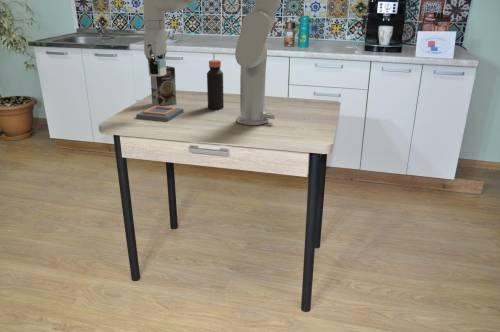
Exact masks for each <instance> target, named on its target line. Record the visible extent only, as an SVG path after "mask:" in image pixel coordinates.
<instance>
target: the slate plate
mask: <svg viewBox="0 0 500 332" xmlns="http://www.w3.org/2000/svg"><path fill="white" fill-rule="evenodd" d="M184 109H185V108H182V107H181V108H179V107H173V106H156V105H153V106H150V107H149V108H147V109H144V110H142V111H141V112H138V113H137V114H135V115H136V117H135V118H136V119H142V120H152V121H163V122H169V121H172V120H173V119H175V118H177V117H178V116H180V115H182V114H183V113H184V111H185V110H184Z"/></svg>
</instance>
